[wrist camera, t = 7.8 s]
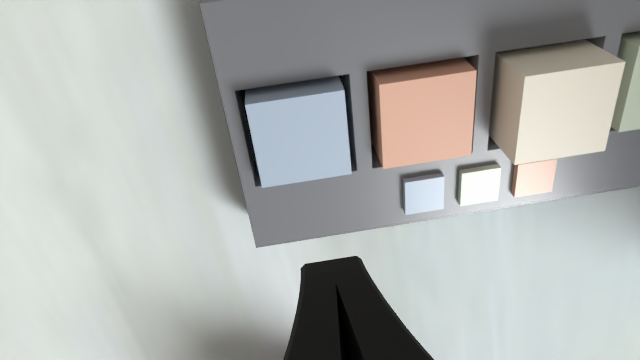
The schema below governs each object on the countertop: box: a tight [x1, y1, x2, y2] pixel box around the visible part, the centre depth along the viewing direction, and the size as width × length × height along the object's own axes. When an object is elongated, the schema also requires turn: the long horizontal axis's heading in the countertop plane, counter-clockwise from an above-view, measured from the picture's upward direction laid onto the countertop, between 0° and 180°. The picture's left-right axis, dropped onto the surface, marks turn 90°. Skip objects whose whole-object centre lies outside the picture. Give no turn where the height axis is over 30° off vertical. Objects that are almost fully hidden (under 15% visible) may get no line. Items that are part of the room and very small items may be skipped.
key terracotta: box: [367, 57, 477, 169], centre depth 19 cm, size 3×3×2 cm
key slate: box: [245, 76, 352, 188], centre depth 19 cm, size 3×3×2 cm
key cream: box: [489, 40, 625, 165], centre depth 19 cm, size 3×3×2 cm
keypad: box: [199, 0, 640, 248], centre depth 20 cm, size 19×10×2 cm, turn 96°
